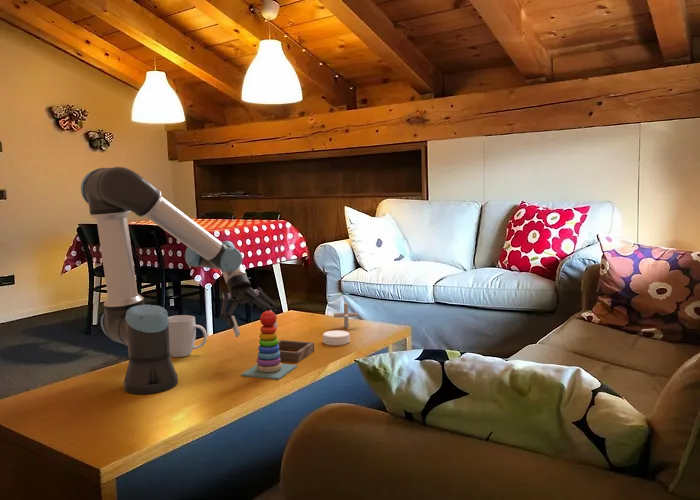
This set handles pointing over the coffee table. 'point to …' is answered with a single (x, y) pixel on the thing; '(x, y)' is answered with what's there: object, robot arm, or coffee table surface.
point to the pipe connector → (346, 315)
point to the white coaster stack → (336, 337)
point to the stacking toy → (268, 345)
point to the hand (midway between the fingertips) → (257, 331)
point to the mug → (183, 335)
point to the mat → (270, 375)
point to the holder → (301, 348)
